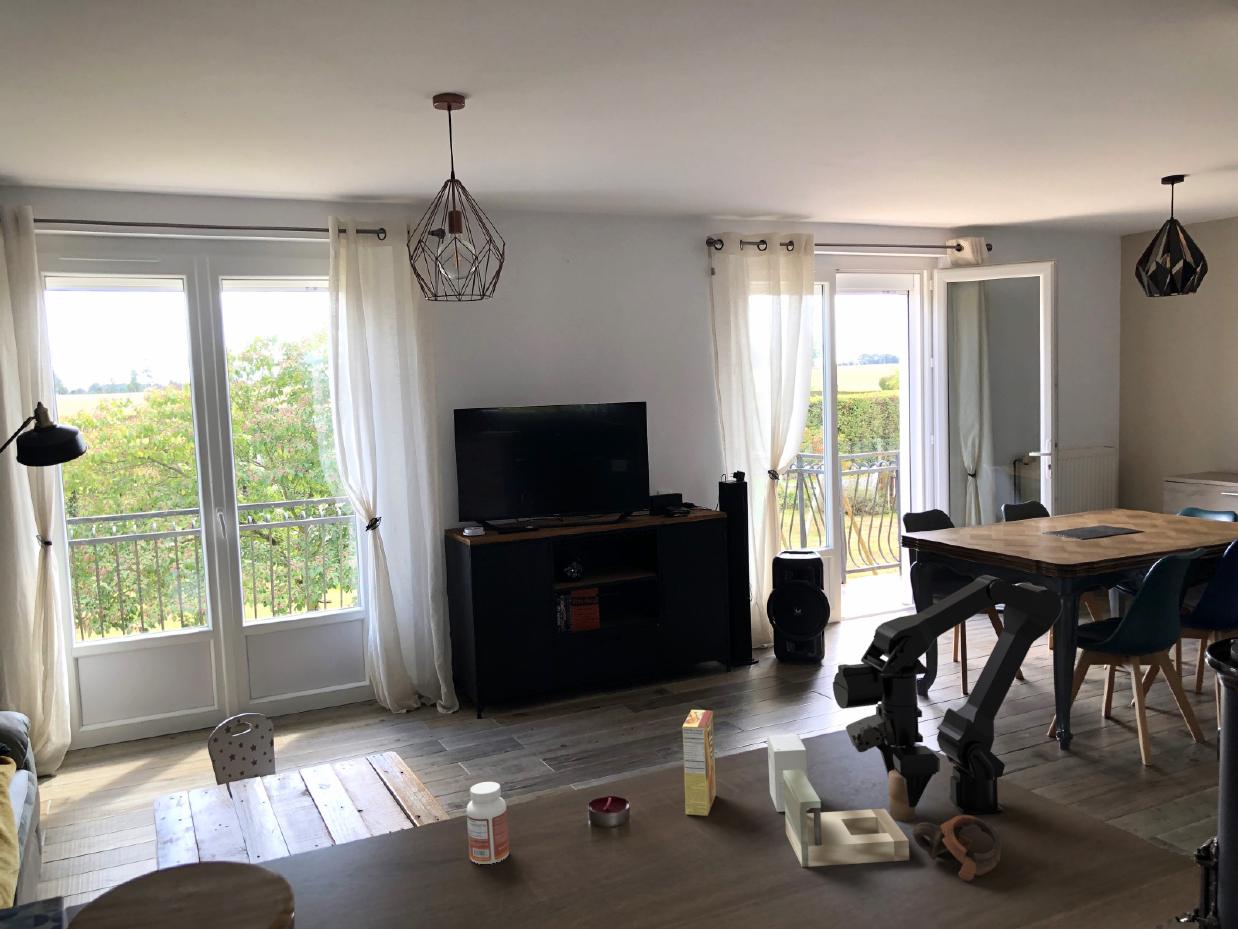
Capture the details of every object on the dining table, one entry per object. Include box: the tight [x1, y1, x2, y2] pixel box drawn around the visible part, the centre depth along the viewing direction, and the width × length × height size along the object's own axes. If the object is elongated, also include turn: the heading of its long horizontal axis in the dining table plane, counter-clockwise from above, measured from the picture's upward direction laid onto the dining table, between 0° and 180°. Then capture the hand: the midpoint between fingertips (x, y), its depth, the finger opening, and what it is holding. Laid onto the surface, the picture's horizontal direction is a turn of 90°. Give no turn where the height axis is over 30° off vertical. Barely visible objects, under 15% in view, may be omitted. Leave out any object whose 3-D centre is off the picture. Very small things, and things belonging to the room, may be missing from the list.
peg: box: [888, 770, 916, 822], centre depth 151 cm, size 4×4×7 cm
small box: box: [766, 733, 810, 813], centre depth 158 cm, size 8×6×10 cm
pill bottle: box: [466, 781, 510, 865], centre depth 144 cm, size 6×6×11 cm
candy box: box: [682, 709, 716, 817], centre depth 159 cm, size 9×4×15 cm, turn 166°
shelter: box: [783, 769, 910, 868], centre depth 142 cm, size 16×12×10 cm
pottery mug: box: [912, 814, 1001, 882], centre depth 134 cm, size 12×10×8 cm
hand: (902, 795), depth 151 cm, fingers open, 9 cm apart
